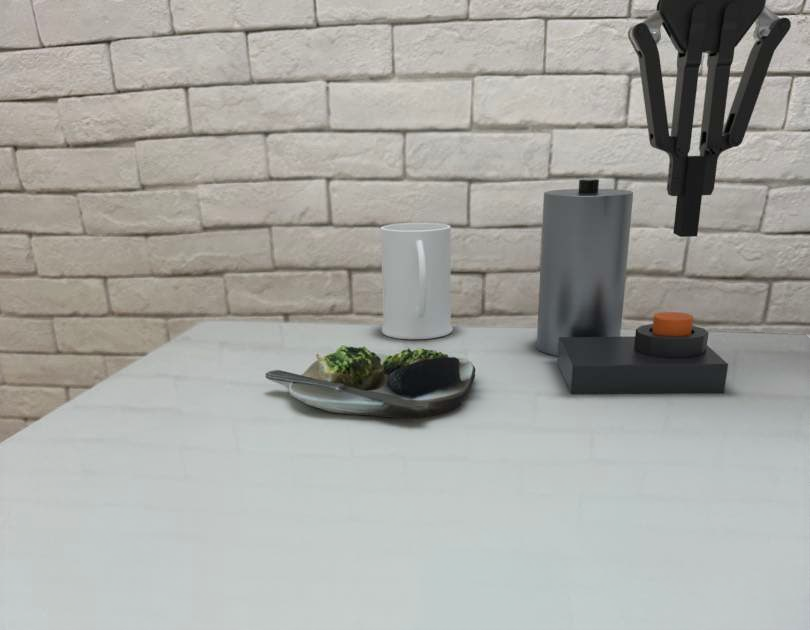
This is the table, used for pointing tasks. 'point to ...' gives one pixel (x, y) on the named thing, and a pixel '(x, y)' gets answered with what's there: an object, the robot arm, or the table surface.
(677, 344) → the dark grey button base
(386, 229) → the mug
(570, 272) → the grey canister
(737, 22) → the robot arm
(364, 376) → the salad plate
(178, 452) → the table surface
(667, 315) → the kettle button
